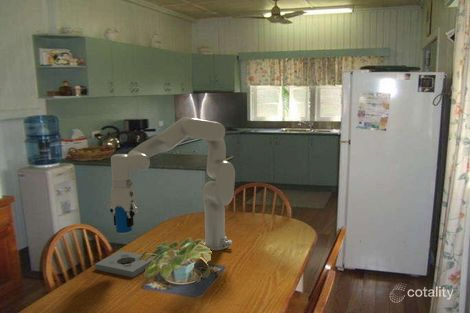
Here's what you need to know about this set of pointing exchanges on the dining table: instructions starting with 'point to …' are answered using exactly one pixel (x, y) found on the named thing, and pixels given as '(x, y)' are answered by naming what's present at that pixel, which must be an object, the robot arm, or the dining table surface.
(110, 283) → the dining table surface
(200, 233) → the dining table surface
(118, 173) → the robot arm
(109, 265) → the socket board
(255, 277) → the dining table surface
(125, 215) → the beverage can
